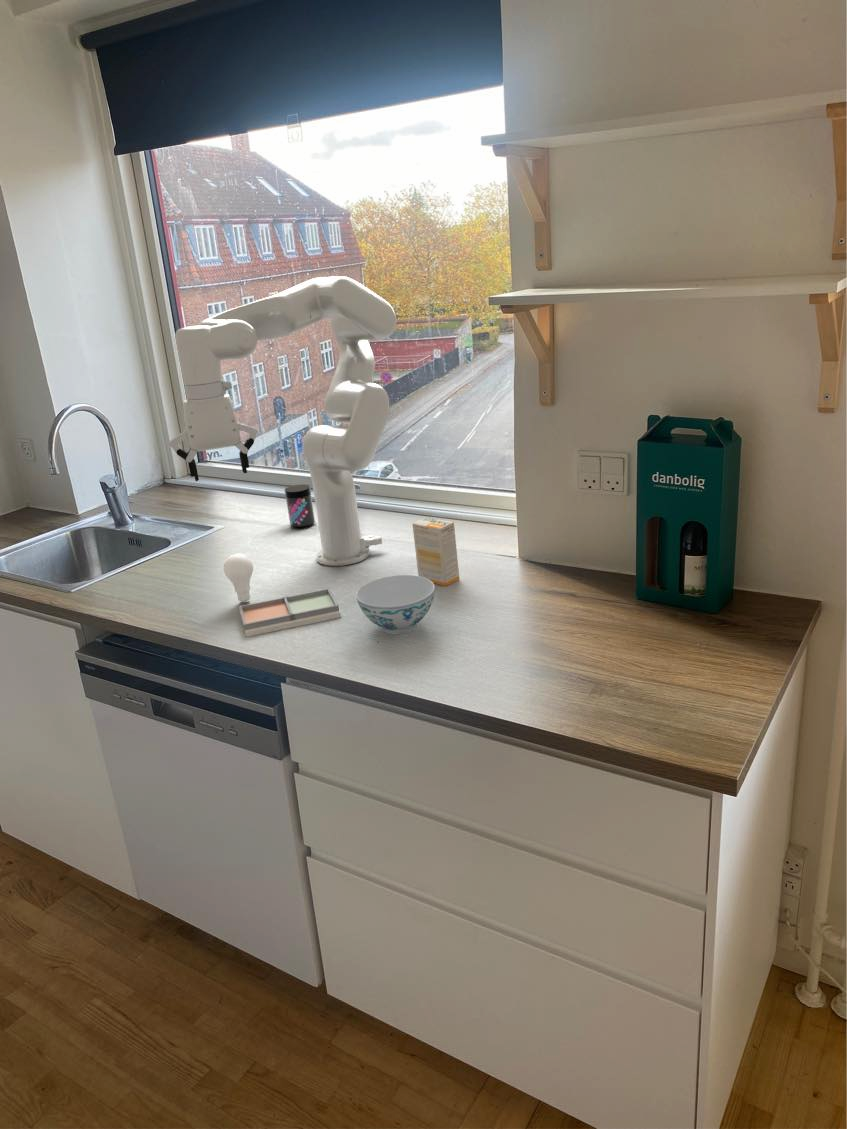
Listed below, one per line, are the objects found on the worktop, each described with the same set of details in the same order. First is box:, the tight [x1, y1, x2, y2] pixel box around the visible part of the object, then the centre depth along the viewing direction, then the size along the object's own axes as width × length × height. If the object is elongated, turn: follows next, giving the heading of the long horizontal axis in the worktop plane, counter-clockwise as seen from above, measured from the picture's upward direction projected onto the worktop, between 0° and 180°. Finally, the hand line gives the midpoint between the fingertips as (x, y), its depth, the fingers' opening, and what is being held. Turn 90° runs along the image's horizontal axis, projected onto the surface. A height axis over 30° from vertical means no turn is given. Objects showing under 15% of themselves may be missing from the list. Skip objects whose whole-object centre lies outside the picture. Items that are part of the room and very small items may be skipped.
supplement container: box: [284, 484, 316, 530], centre depth 231 cm, size 7×7×10 cm
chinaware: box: [355, 574, 436, 635], centre depth 166 cm, size 15×15×8 cm
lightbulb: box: [223, 552, 254, 603], centre depth 184 cm, size 6×6×11 cm
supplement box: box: [412, 517, 460, 587], centre depth 185 cm, size 8×5×13 cm, turn 47°
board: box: [238, 587, 342, 637], centre depth 177 cm, size 19×12×2 cm, turn 106°
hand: (220, 475), depth 176 cm, fingers open, 9 cm apart
